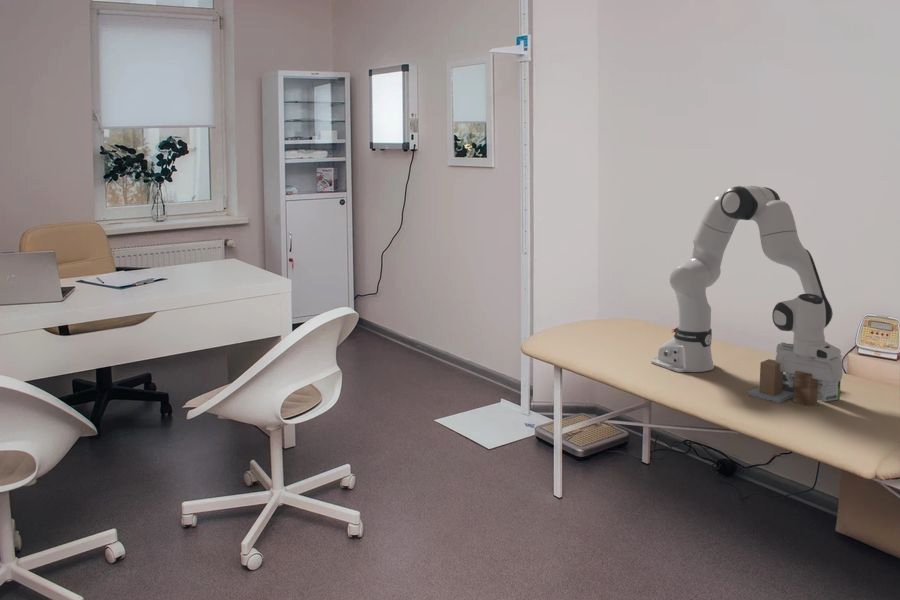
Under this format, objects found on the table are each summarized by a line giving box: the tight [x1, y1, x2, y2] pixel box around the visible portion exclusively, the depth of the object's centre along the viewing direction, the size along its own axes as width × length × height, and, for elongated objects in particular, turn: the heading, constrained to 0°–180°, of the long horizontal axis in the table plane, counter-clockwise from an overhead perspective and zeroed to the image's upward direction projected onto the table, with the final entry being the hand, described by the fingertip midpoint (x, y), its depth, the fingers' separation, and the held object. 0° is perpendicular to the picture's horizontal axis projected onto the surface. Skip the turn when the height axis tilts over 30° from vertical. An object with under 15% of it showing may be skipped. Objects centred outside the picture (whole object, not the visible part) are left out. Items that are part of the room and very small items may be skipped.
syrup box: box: [817, 354, 843, 403], centre depth 259 cm, size 6×6×14 cm
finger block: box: [793, 371, 818, 406], centre depth 257 cm, size 5×5×10 cm
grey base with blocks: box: [747, 358, 795, 404], centre depth 270 cm, size 11×28×11 cm, turn 129°
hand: (806, 390), depth 257 cm, fingers open, 8 cm apart
